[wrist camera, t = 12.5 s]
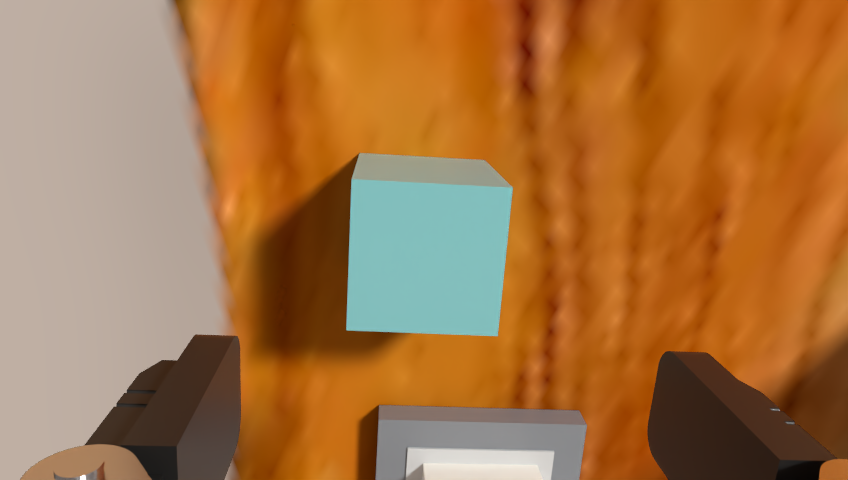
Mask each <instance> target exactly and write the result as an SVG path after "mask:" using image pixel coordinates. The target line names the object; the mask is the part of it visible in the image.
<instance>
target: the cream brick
mask: <svg viewBox="0 0 848 480" xmlns="http://www.w3.org/2000/svg"><path fill="white" fill-rule="evenodd" d="M422 480H543V479H542V476H541V474H540V471H539V468H538V466H537V465H507V464H442V463H423V476H422Z"/></svg>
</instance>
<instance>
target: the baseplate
mask: <svg viewBox="0 0 848 480" xmlns="http://www.w3.org/2000/svg"><path fill="white" fill-rule="evenodd" d="M586 428H587V424H586V422H585V421H584V419H583V417H582V415H581V413H580V412H579V411H578V410H542V409H505V408H469V407H432V406H396V405H379V417H378V437H377V458H376V479H375V480H422V476H423V463H442V464H507V465H537V466H538V468H539V471H540V474H541V476H542V479H543V480H579V476H580V469H581V462H582V455H583V448H584V441H585V434H586Z"/></svg>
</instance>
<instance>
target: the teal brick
mask: <svg viewBox="0 0 848 480" xmlns="http://www.w3.org/2000/svg"><path fill="white" fill-rule="evenodd" d="M512 190H513V187H512V186H511V185H509V184H508V183H507V182H506V181H505V180H504V179H503V178H502V177H501V176H500V175H499V174H498V173H497V172H496V171H495V170H494V169H493V168H492V167H491V166H490V165H489V164H488V163H487V162H486V161H485V160H474V159H456V158H438V157H421V156H403V155H385V154H367V153H360V154H359V157H358V160H357V163H356V166H355V170H354V173H353V176H352V180H351V208H350V237H349V266H348V295H347V324H346V330H348V331H375V332H402V333H429V334H455V335H482V336H498V328H499V318H500V308H501V298H502V289H503V279H504V269H505V259H506V249H507V239H508V230H509V220H510V210H511V200H512Z"/></svg>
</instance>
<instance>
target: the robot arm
mask: <svg viewBox="0 0 848 480" xmlns="http://www.w3.org/2000/svg"><path fill="white" fill-rule="evenodd" d="M240 420H241V390H240V344H239V339H238V337H237V336H221V335H195V336H194V337H193V338H192V340H191V341H190V343H189V344H188V346H187V347H186V349H185V350H184V351H183V353H182V354H181V356H180V357H179V359H178V360H177V361H173V360H162V361H160V362H158V363H157V364H155V365H153V366H151V367H150V368H148V369H146V370H145V371H143V372H141V373H140V374H139V375H138V376H137V378H136V379H135V380H134V381H133V383H132V384H131V385H130V387H129V388H128V389H127V393H124V394H123V396H122V397H121V398H120V400H119V401H118V402H117V406H116V407H113V409H112V410H111V411H110V413H109V414H108V415H107V417H106V418H105V419H104V420H103V422H102V423H101V424H100V426H99V427H98V428H97V430H96V431H95V432H94V433H93V435H92V436H91V437H90V439H89V440H88V442H87V443H86V444H85V445H84V446H79V447H74V448H71V449H67V450H64V451H61V452H58V453H55V454H53V455H51V456H49V457H47V458H45V459H43V460H41V461H39V462H38V463H37V464H35V465H34V466H32V467H31V468H30V469H29V470H28V471H27V472H25V474H24V475H23V476H22V477H21V479H20V480H224V479H225V476H226V474H227V471H228V468H229V466H230V463H231V460H232V458H233V455H234V452H235V449H236V446H237V442H238V437H239V431H240ZM648 442H649V447H650V450H651V453H652V455H653V457H654V459H655V461H656V462H657V464H658V465H659V466H660V468H661V469H662V471H663V472H664V474H665V475H666V477H667V478H668V480H848V459H837V458H836V457H835V456H834V455H832V454H831V453H830V452H829V451H828V450H827V449H825V448H824V447H823V446H822V445H821V444H820V443H819V442H817V441H816V440H815V439H814V438H813V437H812V436H811V435H809V434H808V433H807V432H806V431H805V430H804V429H803V428H801V427H800V426H799V425H795V424H794V421H793V420H792V419H791V418H790V417H789V416H788V415H787V414H785V413H784V412H783V411H779V407H777V406H776V405H775V404H774V403H773V402H772V401H771V400H769V399H768V398H767V397H766V396H765V395H764V394H763V393H761V392H760V391H758V390H756V389H754V388H752V387H750V386H748V385H747V384H745V383H743V382H741V381H739V380H738V379H736V378H735V377H734V376H733V375H732V374H731V373H730V372H729V371H727V370H726V369H725V368H724V367H723V366H722V365H721V364H720V363H719V362H717V361H716V360H715V359H714V358H713V357H712V356H711V355H709V354H708V353H704V352H674V351H667V352H665V353H664V354H663V355H662V357H661V359H660V362H659V366H658V371H657V377H656V383H655V388H654V394H653V399H652V405H651V410H650V416H649V421H648Z"/></svg>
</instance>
